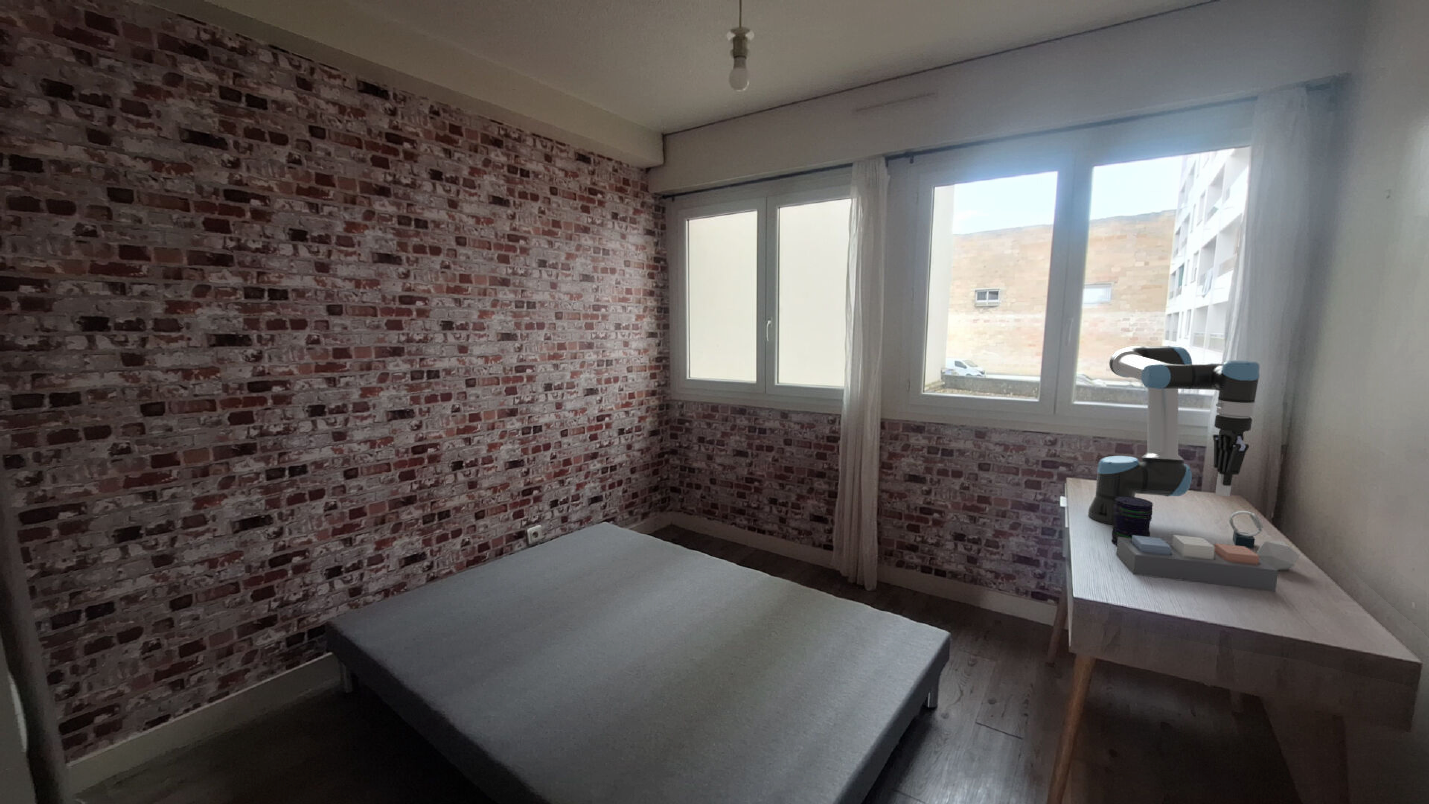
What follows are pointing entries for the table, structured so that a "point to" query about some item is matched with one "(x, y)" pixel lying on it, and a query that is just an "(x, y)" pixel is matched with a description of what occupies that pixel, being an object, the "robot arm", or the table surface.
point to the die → (1278, 555)
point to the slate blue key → (1151, 544)
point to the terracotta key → (1236, 553)
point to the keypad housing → (1197, 568)
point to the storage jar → (1131, 517)
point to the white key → (1193, 547)
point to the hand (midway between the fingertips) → (1222, 494)
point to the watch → (1242, 537)
